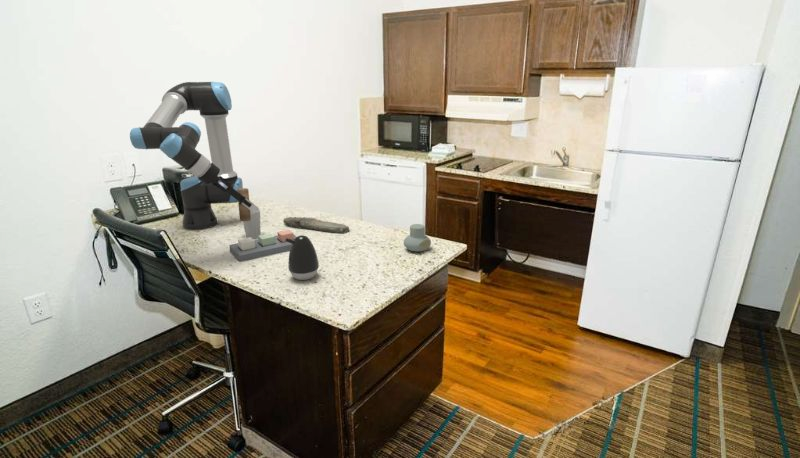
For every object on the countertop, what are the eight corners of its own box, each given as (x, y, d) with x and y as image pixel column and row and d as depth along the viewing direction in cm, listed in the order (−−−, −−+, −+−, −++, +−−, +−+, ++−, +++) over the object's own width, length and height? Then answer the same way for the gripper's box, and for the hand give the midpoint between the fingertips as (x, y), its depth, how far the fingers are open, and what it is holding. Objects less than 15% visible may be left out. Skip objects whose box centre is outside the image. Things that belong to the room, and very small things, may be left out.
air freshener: (418, 243, 180) (419, 220, 177) (433, 248, 175) (434, 225, 172) (400, 250, 173) (400, 226, 170) (415, 255, 168) (415, 231, 164)
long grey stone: (342, 239, 191) (353, 233, 200) (342, 227, 189) (353, 222, 198) (278, 225, 203) (291, 221, 212) (277, 214, 202) (291, 210, 211)
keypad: (229, 250, 173) (229, 245, 172) (291, 238, 187) (290, 232, 186) (240, 261, 162) (239, 255, 161) (304, 247, 176) (304, 241, 176)
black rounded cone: (291, 271, 153) (287, 231, 149) (320, 270, 154) (318, 230, 149) (286, 284, 144) (282, 241, 139) (318, 282, 145) (315, 240, 140)
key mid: (258, 242, 174) (258, 235, 174) (270, 240, 177) (270, 233, 176) (262, 246, 171) (262, 239, 170) (275, 243, 173) (274, 236, 172)
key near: (238, 246, 170) (237, 239, 169) (251, 244, 173) (250, 237, 172) (242, 250, 166) (241, 243, 165) (255, 247, 169) (254, 240, 168)
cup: (257, 240, 184) (254, 213, 180) (240, 239, 186) (236, 212, 182) (266, 234, 192) (263, 208, 188) (249, 233, 193) (246, 207, 189)
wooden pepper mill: (238, 219, 167) (235, 188, 163) (249, 217, 169) (246, 187, 165) (241, 221, 163) (238, 190, 160) (252, 220, 165) (249, 189, 162)
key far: (277, 238, 179) (277, 232, 178) (289, 236, 182) (288, 229, 181) (282, 242, 175) (281, 235, 174) (294, 239, 178) (293, 232, 177)
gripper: (193, 174, 159) (242, 211, 173) (201, 182, 146) (254, 222, 160) (206, 159, 161) (255, 197, 174) (216, 165, 147) (267, 206, 161)
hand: (254, 209), depth 167 cm, fingers closed on wooden pepper mill, 4 cm apart
